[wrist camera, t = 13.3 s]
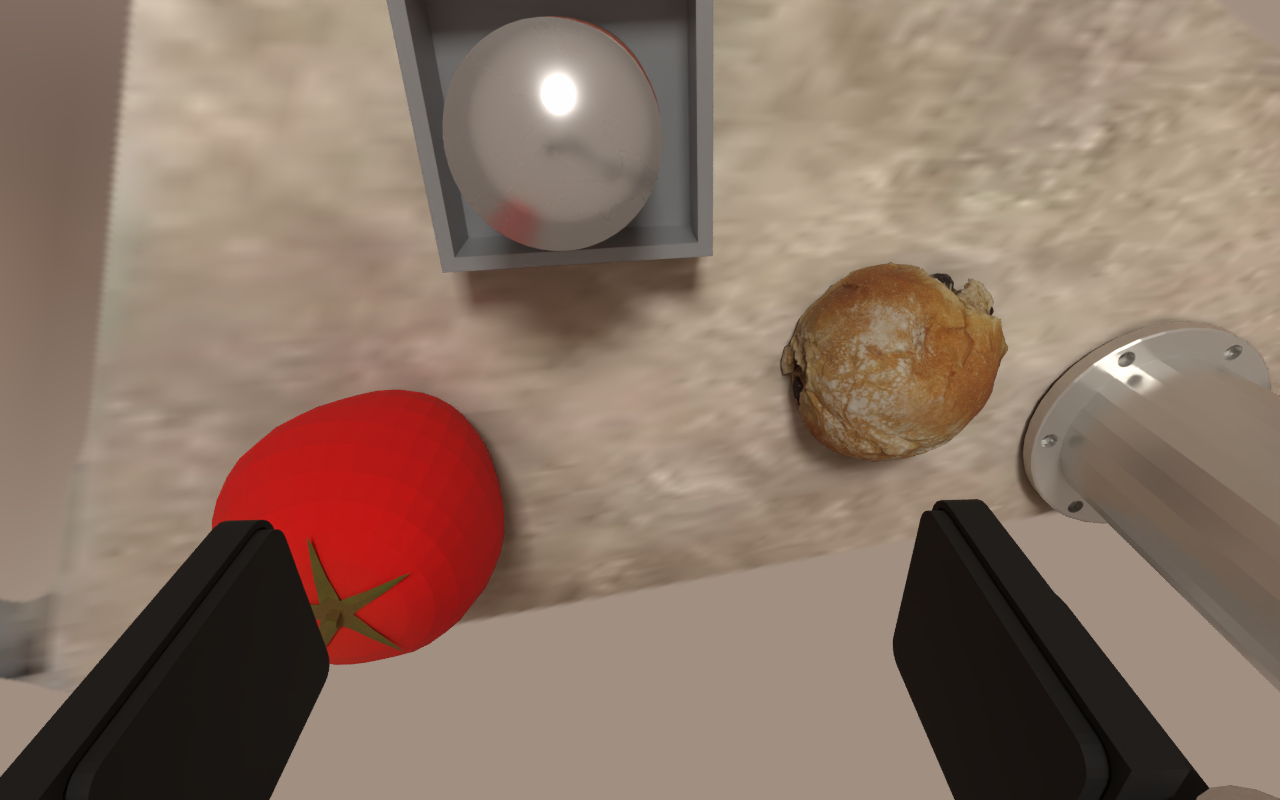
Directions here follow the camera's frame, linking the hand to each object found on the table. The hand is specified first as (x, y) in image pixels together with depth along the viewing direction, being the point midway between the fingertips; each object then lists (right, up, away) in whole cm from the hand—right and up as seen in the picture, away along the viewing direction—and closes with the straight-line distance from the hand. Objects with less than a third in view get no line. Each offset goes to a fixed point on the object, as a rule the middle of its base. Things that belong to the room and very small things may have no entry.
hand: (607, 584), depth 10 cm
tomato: (-12, 0, +26) cm, 29 cm away
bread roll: (+13, +6, +25) cm, 28 cm away
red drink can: (-2, +15, +17) cm, 23 cm away
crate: (-2, +15, +18) cm, 24 cm away
